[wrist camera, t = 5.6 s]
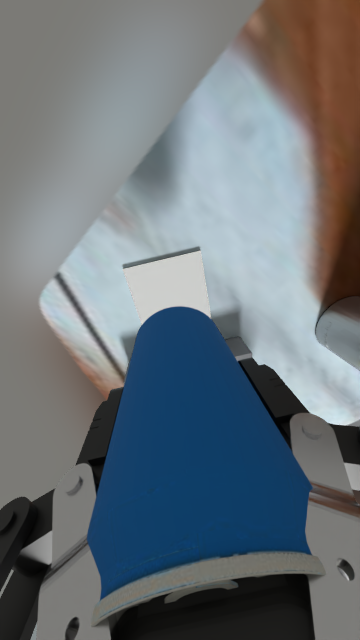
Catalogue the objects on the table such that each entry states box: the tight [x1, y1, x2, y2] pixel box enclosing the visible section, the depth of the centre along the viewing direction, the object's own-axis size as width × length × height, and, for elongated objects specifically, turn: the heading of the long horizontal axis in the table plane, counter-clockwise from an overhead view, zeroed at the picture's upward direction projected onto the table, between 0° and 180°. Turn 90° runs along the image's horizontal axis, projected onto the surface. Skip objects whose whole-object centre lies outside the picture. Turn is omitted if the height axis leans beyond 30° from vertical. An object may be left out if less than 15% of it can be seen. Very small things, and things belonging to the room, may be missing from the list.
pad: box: [123, 250, 211, 324], centre depth 25 cm, size 10×10×1 cm
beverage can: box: [87, 306, 326, 627], centre depth 10 cm, size 6×6×12 cm
